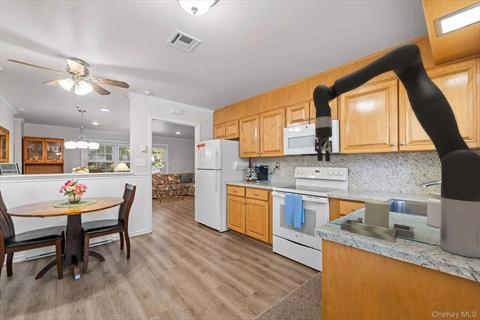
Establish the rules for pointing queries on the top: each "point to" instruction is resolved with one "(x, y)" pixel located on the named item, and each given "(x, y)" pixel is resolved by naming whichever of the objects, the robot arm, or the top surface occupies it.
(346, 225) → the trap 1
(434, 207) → the pill bottle
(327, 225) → the top surface
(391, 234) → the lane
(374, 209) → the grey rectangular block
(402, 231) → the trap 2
